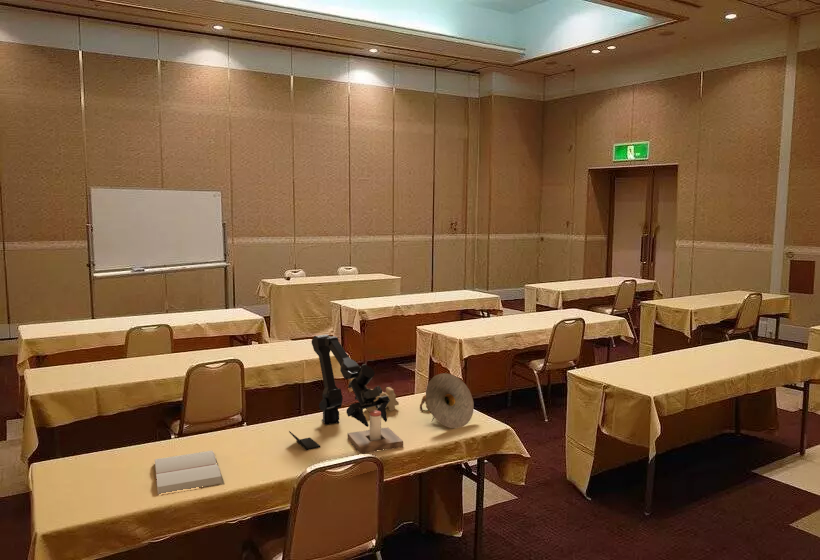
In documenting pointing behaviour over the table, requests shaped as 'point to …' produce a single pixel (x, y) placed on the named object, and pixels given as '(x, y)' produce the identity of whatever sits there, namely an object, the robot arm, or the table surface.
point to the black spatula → (306, 443)
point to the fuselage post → (375, 425)
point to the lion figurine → (423, 402)
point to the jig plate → (365, 445)
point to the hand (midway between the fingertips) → (377, 423)
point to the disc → (449, 400)
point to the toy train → (392, 397)
